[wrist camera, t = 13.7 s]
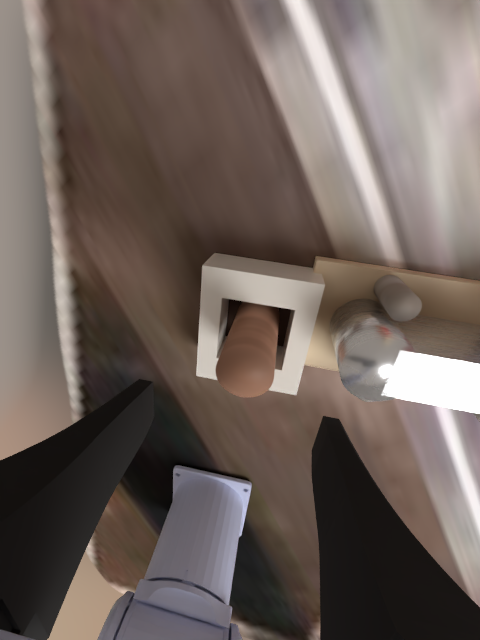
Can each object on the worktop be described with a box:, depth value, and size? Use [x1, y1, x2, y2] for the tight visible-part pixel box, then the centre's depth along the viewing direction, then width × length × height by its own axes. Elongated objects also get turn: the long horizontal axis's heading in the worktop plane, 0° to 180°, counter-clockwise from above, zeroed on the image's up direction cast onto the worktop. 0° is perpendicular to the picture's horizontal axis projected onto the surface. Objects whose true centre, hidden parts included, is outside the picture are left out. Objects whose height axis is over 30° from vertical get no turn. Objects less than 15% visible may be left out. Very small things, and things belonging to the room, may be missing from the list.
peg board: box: [304, 256, 480, 421], centre depth 18 cm, size 8×16×4 cm, turn 83°
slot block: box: [196, 253, 325, 395], centre depth 20 cm, size 8×7×3 cm
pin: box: [215, 301, 280, 397], centre depth 18 cm, size 3×3×7 cm
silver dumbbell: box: [329, 299, 480, 414], centre depth 16 cm, size 15×4×5 cm, turn 84°
